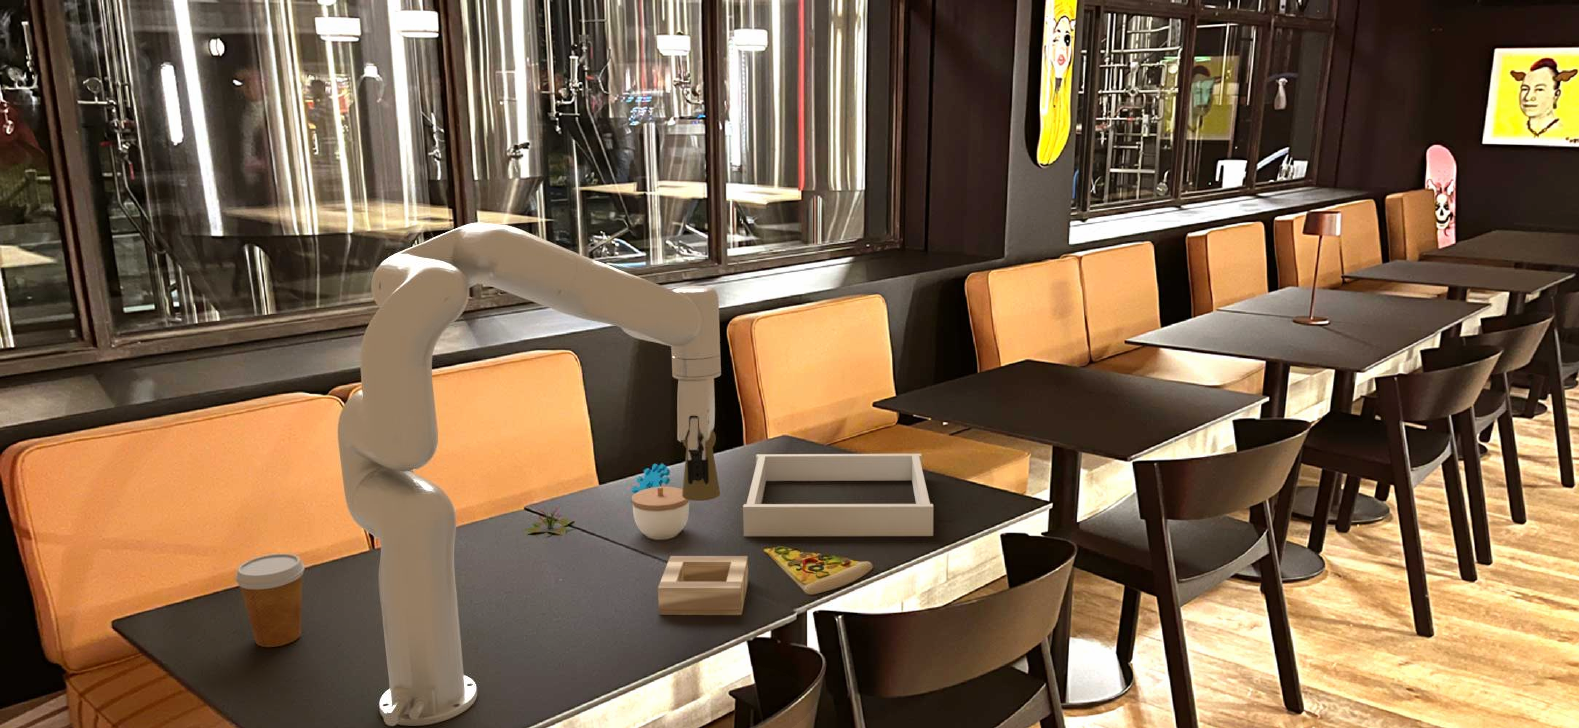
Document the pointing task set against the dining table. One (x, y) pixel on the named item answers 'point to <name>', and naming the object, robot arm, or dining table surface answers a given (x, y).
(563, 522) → the lily flower
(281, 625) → the disposable coffee cup
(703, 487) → the cork
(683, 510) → the lidded jar
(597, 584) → the dining table surface
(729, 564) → the caddy
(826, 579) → the pizza slice
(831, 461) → the white rectangular frame
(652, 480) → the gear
